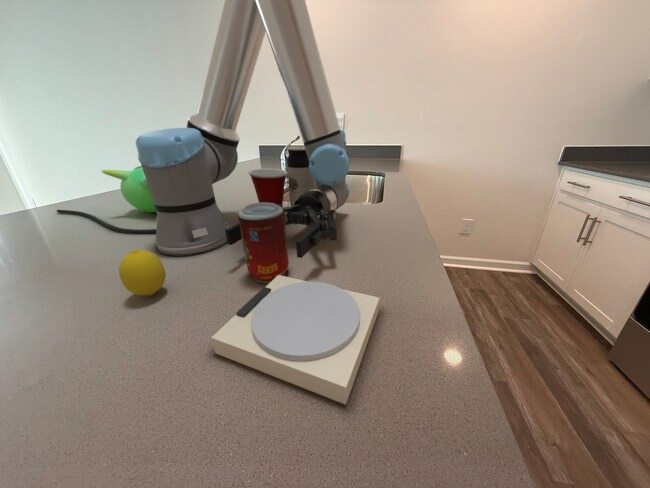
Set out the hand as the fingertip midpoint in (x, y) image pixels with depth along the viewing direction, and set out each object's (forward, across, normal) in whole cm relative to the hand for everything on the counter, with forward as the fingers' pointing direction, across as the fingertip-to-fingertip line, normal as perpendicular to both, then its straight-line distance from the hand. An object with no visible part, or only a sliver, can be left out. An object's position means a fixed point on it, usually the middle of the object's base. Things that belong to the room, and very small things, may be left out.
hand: (261, 243), depth 41 cm
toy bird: (-21, +53, -7) cm, 57 cm away
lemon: (+11, +14, -7) cm, 19 cm away
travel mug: (-35, +10, -7) cm, 37 cm away
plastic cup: (-32, +19, -7) cm, 37 cm away
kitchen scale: (+9, -12, -7) cm, 16 cm away
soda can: (-1, 0, -7) cm, 7 cm away
